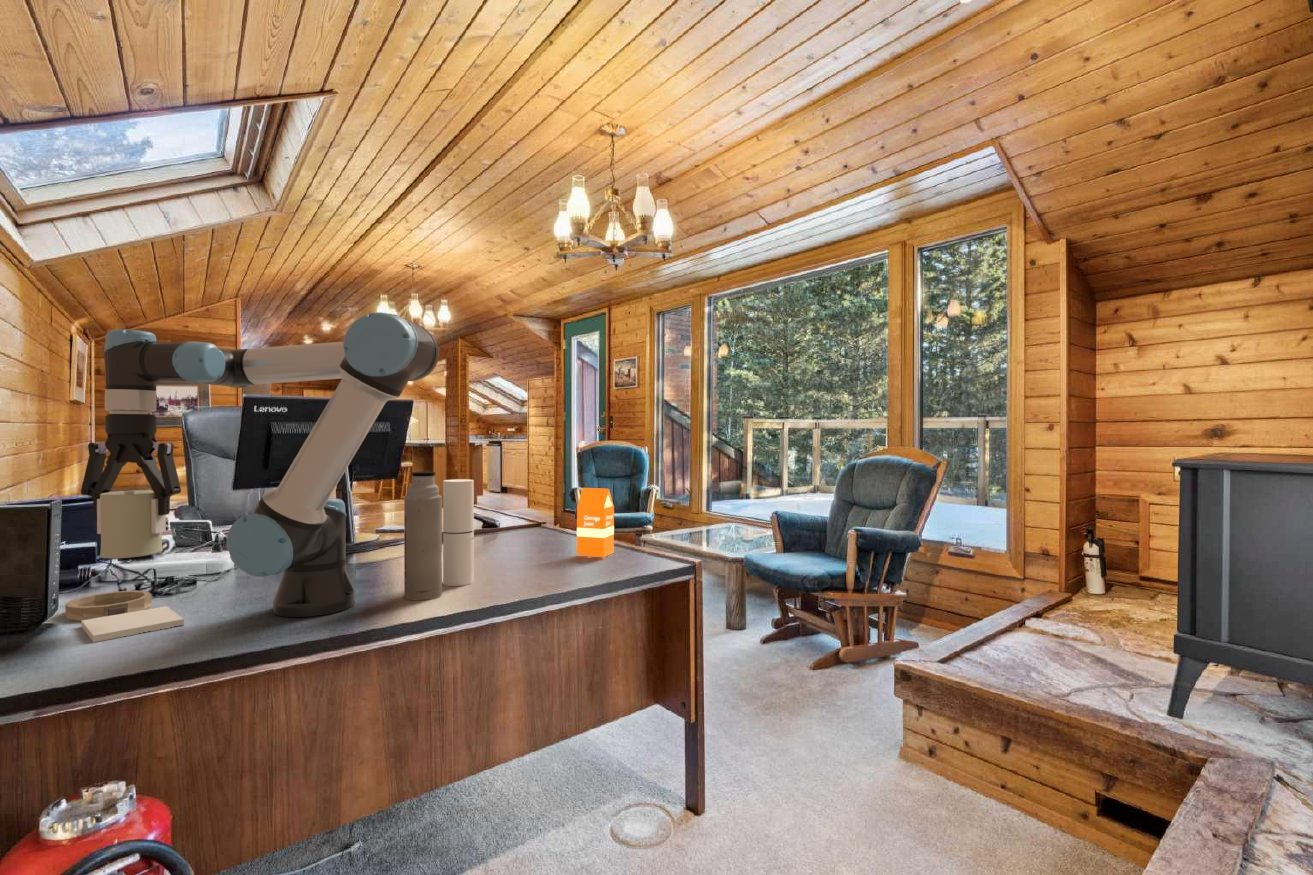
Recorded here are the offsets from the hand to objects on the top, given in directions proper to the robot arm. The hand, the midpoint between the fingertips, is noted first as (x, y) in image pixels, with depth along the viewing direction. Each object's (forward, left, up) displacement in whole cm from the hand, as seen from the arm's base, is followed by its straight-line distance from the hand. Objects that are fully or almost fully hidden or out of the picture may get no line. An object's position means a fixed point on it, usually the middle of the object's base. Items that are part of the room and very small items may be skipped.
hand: (131, 532), depth 121 cm
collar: (+16, +1, -18) cm, 24 cm away
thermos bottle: (-20, -48, -18) cm, 55 cm away
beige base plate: (0, 0, -18) cm, 18 cm away
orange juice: (-15, -106, -18) cm, 109 cm away
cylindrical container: (-15, -60, -18) cm, 64 cm away
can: (0, 0, -4) cm, 4 cm away
